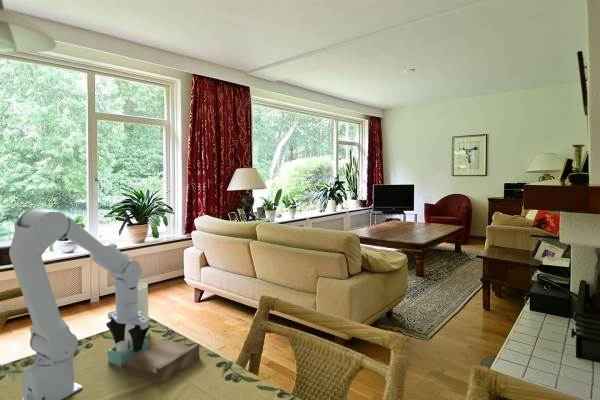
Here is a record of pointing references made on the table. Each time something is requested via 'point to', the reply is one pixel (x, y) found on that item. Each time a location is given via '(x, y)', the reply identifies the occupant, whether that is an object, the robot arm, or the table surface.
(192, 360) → the brown flat block
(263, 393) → the table surface
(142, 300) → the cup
